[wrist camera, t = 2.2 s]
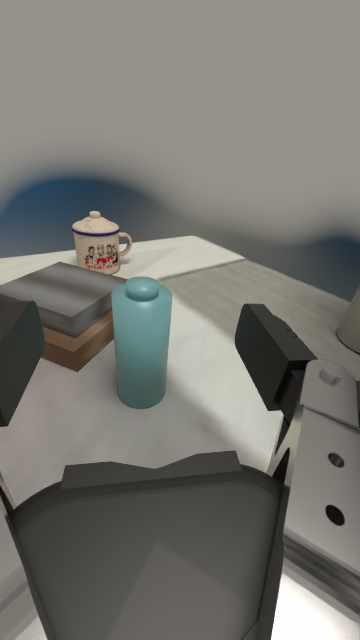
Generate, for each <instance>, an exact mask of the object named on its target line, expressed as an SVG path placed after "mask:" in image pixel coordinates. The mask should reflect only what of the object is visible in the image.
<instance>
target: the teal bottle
mask: <svg viewBox="0 0 360 640" xmlns="http://www.w3.org/2000/svg"><path fill="white" fill-rule="evenodd" d="M111 296H112V311H113V325H114V340H115V355H116V369H117V384H118V395H119V398H120V400H121V401H122V402H123V403H124V404H126V405H127V406H129V407H132V408H136V409H144V408H149V407H152V406H154V405H156V404H157V403H159V402H160V401H161V400H162V398H163V396H164V394H165V385H166V372H167V359H168V346H169V333H170V320H171V307H172V293H171V291H170V290H169V289H168V288H166V287H165V286H163V285H160V284H159V282H158V281H157V280H155V279H153V278H149V277H134V278H130V279H128V280H127V281H126V283H124V284H122V285H119V286H118V287H116V288H115V289H114V290H113V291H112V294H111Z"/></svg>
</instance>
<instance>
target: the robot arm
mask: <svg viewBox="0 0 360 640" xmlns="http://www.w3.org/2000/svg"><path fill="white" fill-rule="evenodd" d="M336 333H337V336H338V338H339V339H340V340H341V341H342V342H343V343H344V344H345V345H346V346H348V347H349V348H351V349H352V350H354V351H356V352H358V353H360V286H359V288H358V290H357V292H356V294H355V296H354V298H353V299H352V301H351V303H350V305H349V307H348V309H347V311H346V313H345V315H344V317H343V319H342V321H341V323H340V325H339V327H338V329H337V331H336ZM44 346H45V337H44V332H43V328H42V324H41V319H40V315H39V311H38V307H37V304H36V302H35V301H20V300H11V301H9V302H8V303H7V304H6V305H5V306H4V307H3V308H2V310H1V311H0V427H5V426H8V425H9V422H10V420H11V418H12V416H13V414H14V412H15V410H16V408H17V406H18V404H19V401H20V399H21V397H22V395H23V393H24V391H25V389H26V387H27V385H28V383H29V380H30V378H31V376H32V374H33V372H34V370H35V368H36V366H37V364H38V362H39V359H40V357H41V355H42V353H43V351H44ZM235 346H236V349H237V351H238V353H239V355H240V357H241V359H242V361H243V363H244V365H245V367H246V369H247V370H248V372H249V374H250V376H251V378H252V380H253V382H254V384H255V386H256V388H257V390H258V392H259V394H260V396H261V398H262V400H263V402H264V404H265V406H266V408H267V410H268V411H277V410H281V411H282V413H283V417H282V419H281V421H280V425H279V429H278V433H277V437H276V441H275V445H274V449H273V453H272V457H271V461H270V464H269V467H268V470H267V473H264V472H262V471H260V470H258V469H256V468H253V467H250V466H247V465H243V464H240V463H239V460H238V457H237V454H236V451H224V452H213V453H202V454H195V455H193V456H190V457H187V458H185V459H182V460H180V461H177V462H174V463H172V464H169V465H166V466H164V467H161V468H158V469H150V468H145V467H139V466H133V465H128V464H122V463H116V462H100V463H89V464H77V465H66V466H65V469H64V473H63V478H62V481H60V482H57V483H55V484H53V485H51V486H48V487H46V488H44V489H42V490H41V491H39V492H37V493H36V494H34V495H32V496H31V497H29V498H28V499H27V500H25V501H24V502H23V503H21V504H20V505H19V506H17V507H16V505H15V503H14V501H13V499H12V497H11V495H10V493H9V490H8V488H7V486H6V483H5V481H4V478H3V476H2V473H1V471H0V640H360V381H355V379H354V378H353V376H352V375H351V374H350V373H349V372H348V371H347V370H345V369H344V368H343V367H341V366H339V365H337V364H335V363H333V362H330V361H326V360H318V359H317V357H316V356H315V355H314V354H313V353H312V352H311V351H310V350H309V348H308V347H307V346H306V345H305V344H304V343H303V342H302V341H301V339H300V338H298V336H297V335H296V334H295V333H294V332H292V329H291V328H290V327H289V326H288V325H287V324H286V322H284V321H283V320H281V319H279V318H278V317H276V316H273V315H272V313H271V312H270V311H269V310H268V309H267V307H266V306H265V305H264V304H244V305H243V307H242V310H241V314H240V318H239V321H238V325H237V329H236V333H235Z"/></svg>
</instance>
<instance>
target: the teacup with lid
mask: <svg viewBox="0 0 360 640" xmlns="http://www.w3.org/2000/svg"><path fill="white" fill-rule="evenodd" d="M72 230H73V232H74V238H75V245H76V253H77V260H78V267H82V268H85V269H89V270H93V271H97V272H101V273H105V274H108V275H110V274H113V273H116V272H117V271H118V270H119V269H120V258H119V257H120V256H124V255H126V254H127V253H128V252H129V251H130V249H131V246H132V240H131V238H130V236H129V235H128V234H126V233H118V232H119V227H118V225H117V224H115V223H113V222H110V221H108V220H107V219H105V218H103V217H100V213H99V212H97V211H92V212H90V217H86V218H85V219H83V220H82V221H79V222H76V223H74V224H73V226H72ZM119 237H126V238H127V240H128V244H127V247H126V249H125V250H124V251H122V252H119Z"/></svg>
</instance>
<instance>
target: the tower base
mask: <svg viewBox="0 0 360 640" xmlns="http://www.w3.org/2000/svg"><path fill="white" fill-rule="evenodd" d="M127 280H128V279H124V278H120V277H116V276H112V275H108V274H105V273H101V272H97V271H93V270H89V269H85V268H82V267H78V266H74V265H70V264H66V263H63V262H58V263H56V264H53V265H51V266H48V267H46V268H43V269H40V270H38V271H35V272H33V273H30V274H28V275H25V276H23V277H20V278H18V279H15V280H13V281H10V282H8V283H5V284H3V285H0V311H1V310H2V308H3V307H4V306H5V305H6V304H7V303H8V302H9V301H11V300H20V301H35V302H36V304H37V307H38V311H39V315H40V319H41V324H42V328H43V332H44V337H45V346H44V351H43V353H42V355H41V357H42V358H44V359H47V360H49V361H52V362H54V363H57V364H59V365H62V366H64V367H67V368H69V369H72V370H74V371H77V372H78V371H79V370H80V369H81V368H82V367H83V366H84V365H85V364H87V363H88V362H89V361H90V360H91V359H92V358H93V357H94V356H95V355H96V354H97V353H98V352H100V351H101V350H102V349H103V348H104V347H105V346H106V345H107V344H108V343H109V342H110V341H112V340H113V339H114V325H113V311H112V296H111V294H112V291H113V290H114V289H115V288H116V287H118V286H119V285H122V284H124V283H126V281H127Z"/></svg>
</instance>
